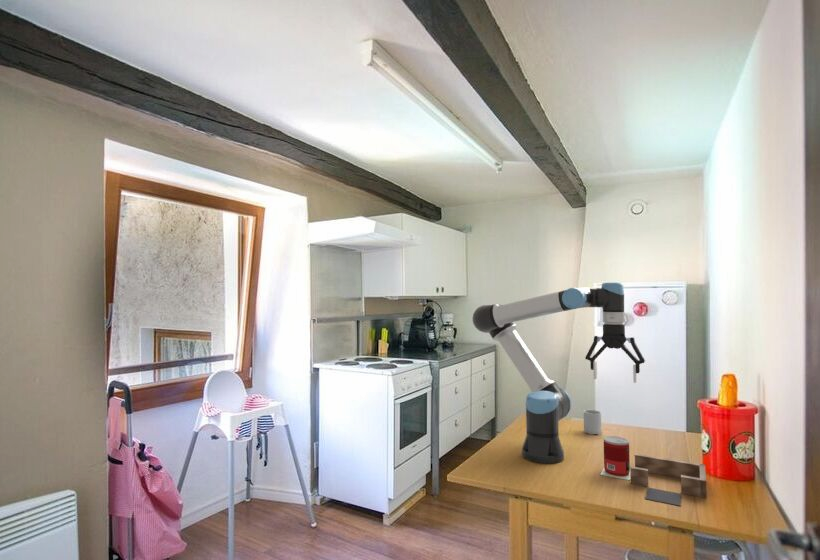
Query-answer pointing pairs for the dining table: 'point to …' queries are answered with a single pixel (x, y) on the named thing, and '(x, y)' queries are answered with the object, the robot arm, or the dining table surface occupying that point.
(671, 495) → the mat
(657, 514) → the dining table surface
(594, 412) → the cup
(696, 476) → the wooden walled channel
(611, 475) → the pad
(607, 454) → the canned food
